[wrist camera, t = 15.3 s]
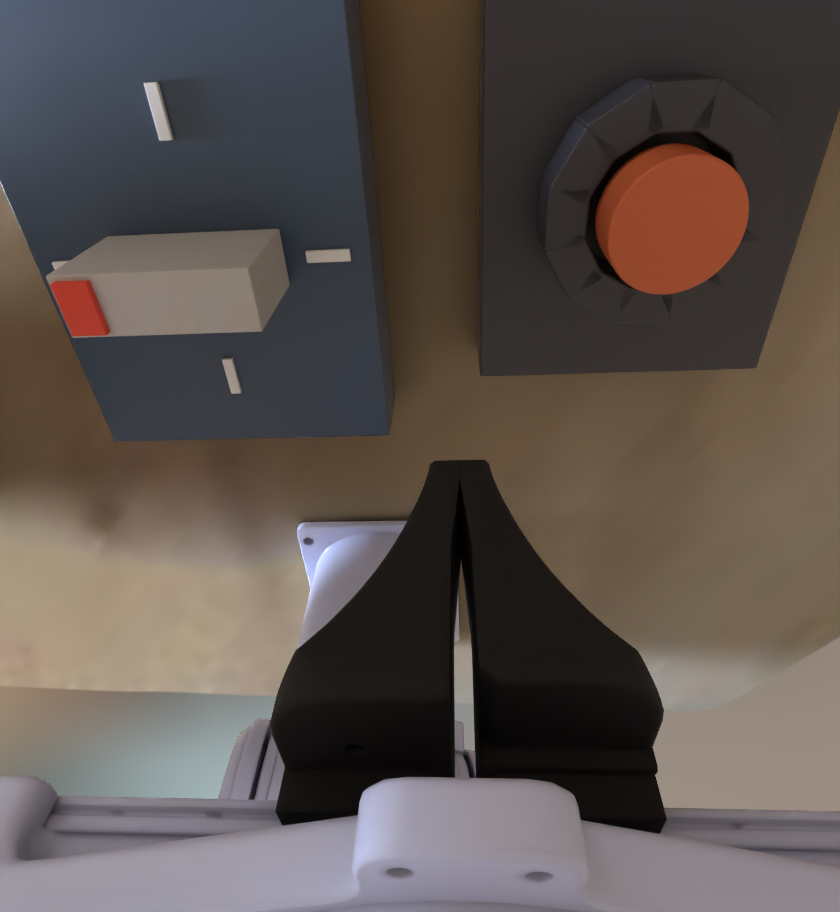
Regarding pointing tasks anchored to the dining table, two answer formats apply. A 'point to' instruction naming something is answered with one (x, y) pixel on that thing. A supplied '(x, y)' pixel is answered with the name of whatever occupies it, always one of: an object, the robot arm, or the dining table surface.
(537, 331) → the button base
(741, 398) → the dining table surface
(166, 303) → the grey rectangular block
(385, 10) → the dining table surface
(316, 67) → the dial panel
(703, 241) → the button
